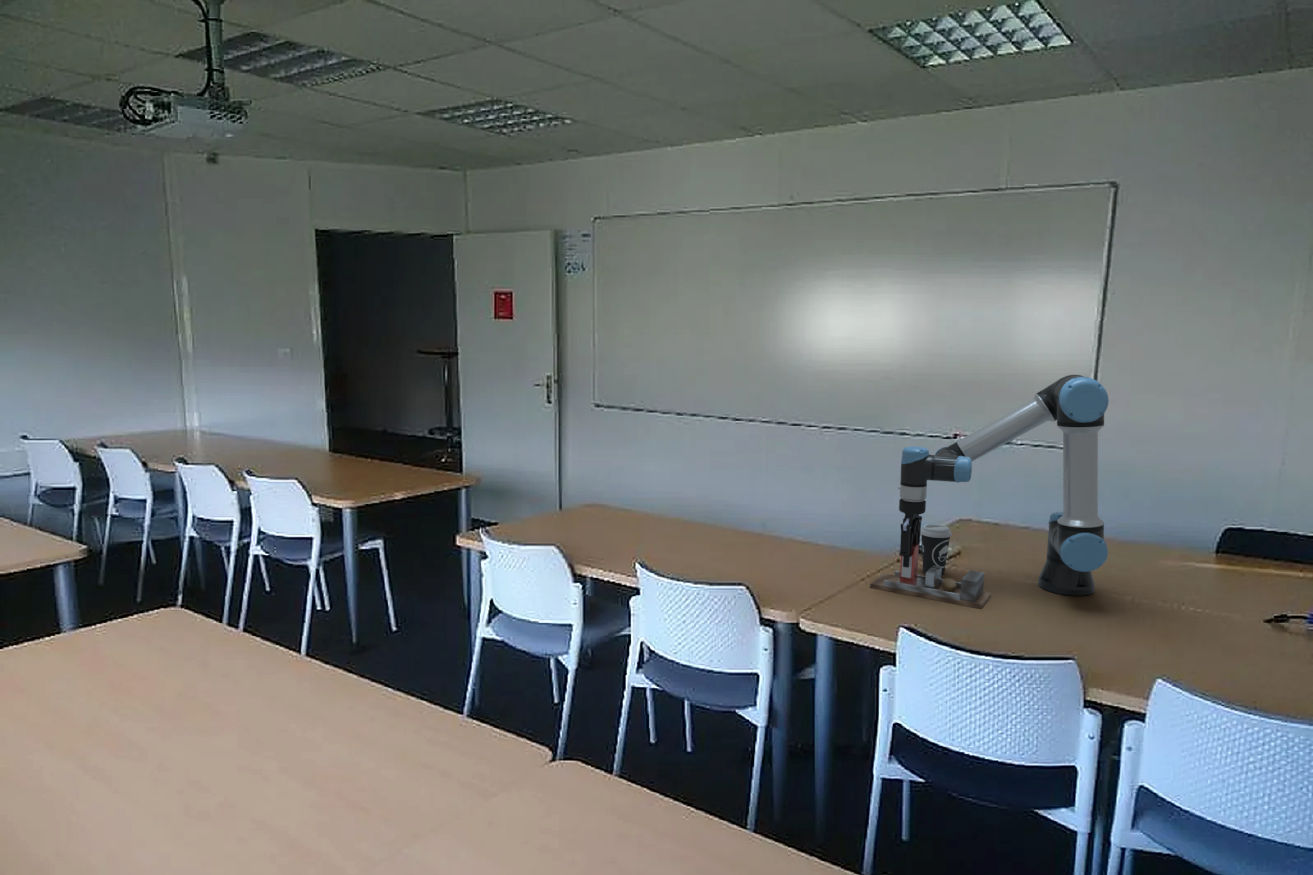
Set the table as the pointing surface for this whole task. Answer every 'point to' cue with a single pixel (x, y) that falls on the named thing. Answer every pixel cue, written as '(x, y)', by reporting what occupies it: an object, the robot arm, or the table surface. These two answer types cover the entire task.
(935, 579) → the ram
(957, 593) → the bench
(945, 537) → the coffee cup
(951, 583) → the nut
